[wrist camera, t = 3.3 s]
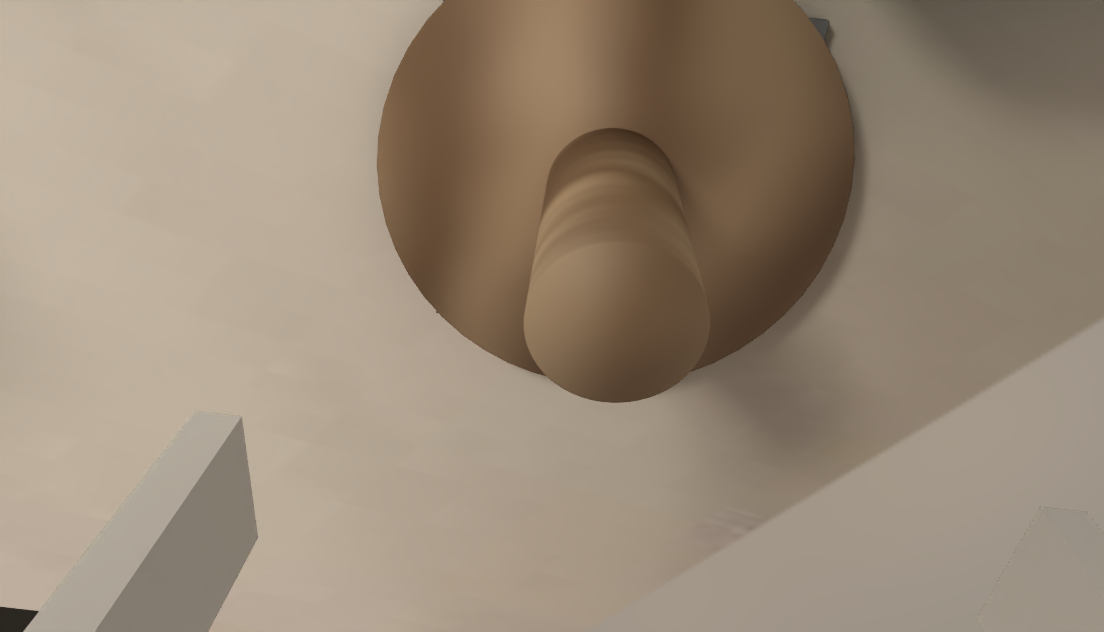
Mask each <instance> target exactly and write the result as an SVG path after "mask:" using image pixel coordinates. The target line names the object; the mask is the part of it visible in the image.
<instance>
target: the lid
mask: <svg viewBox="0 0 1104 632" xmlns="http://www.w3.org/2000/svg"><path fill="white" fill-rule="evenodd" d="M853 168H854V133H853V123H852V118H851V112H850V107H849V102H848V96H847V93H846V90H845V87H844V85H843V82H842V79H841V76H840V73H839V70H838V67H837V65H836V63H835V61H834V59H833V57H832V55H831V53H830V51H829V49H828V47H827V45H826V43H825V42H824V40H823V38H822V36H821V35H820V33H819V32H818V31H817V29H816V28H815V26H814V25H813V24H812V22H811V21H810V20H809V18H808V17H807V15H806V14H805V13H804V11H803V10H802V9H801V8H800V7H799V6H798V5H797V4H796V3H795V2H794V1H793V0H445V1H444V2H443V3H442V5H441V6H440V7H439V8H438V9H437V10H436V11H435V12H434V13H433V14H432V15H431V16H430V18H429V19H428V20H427V21H426V22H425V24H424V25H423V27H422V28H421V30H420V31H419V33H418V34H417V36H416V37H415V38H414V40H413V41H412V43H411V44H410V46H409V47H408V49H407V51H406V53H405V55H404V57H403V59H402V61H401V63H400V65H399V67H398V69H397V71H396V73H395V75H394V78H393V81H392V84H391V87H390V90H389V93H388V96H387V99H386V102H385V105H384V109H383V114H382V120H381V125H380V130H379V136H378V156H377V171H378V182H379V194H380V199H381V203H382V208H383V212H384V217H385V221H386V225H387V227H388V230H389V233H390V235H391V238H392V241H393V244H394V246H395V249H396V251H397V253H398V255H399V257H400V259H401V261H402V263H403V265H404V266H405V268H406V270H407V272H408V274H409V275H410V277H411V278H412V280H413V281H414V283H415V284H416V286H417V287H418V289H419V290H420V291H421V293H422V294H423V296H424V297H425V298H426V299H427V300H428V301H429V303H430V304H431V305H432V306H433V307H434V308H435V309H436V310H437V312H438V313H439V314H440V315H441V316H442V317H443V318H444V319H445V320H446V321H447V322H449V323H450V324H451V325H452V326H453V327H454V328H455V329H457V330H458V331H459V332H460V333H461V334H462V335H464V336H465V337H467V338H468V339H469V340H471V341H472V342H474V343H475V344H477V345H478V346H479V347H481V348H482V349H484V350H486V351H488V352H489V353H491V354H493V355H495V356H497V357H499V358H500V359H502V360H504V361H506V362H508V363H511V364H513V365H516V366H518V367H521V368H523V369H526V370H528V371H531V372H534V373H537V374H541V375H544V376H547V377H548V378H550V379H551V380H552V381H553V382H554V383H556V384H557V385H559V386H560V387H561V388H563V389H565V390H567V391H569V392H571V393H573V394H575V395H578V396H580V397H583V398H587V399H590V400H595V401H601V402H612V403H619V402H631V401H637V400H641V399H645V398H649V397H652V396H654V395H657V394H659V393H661V392H663V391H665V390H667V389H669V388H671V387H672V386H674V385H675V384H676V383H678V382H679V381H680V380H682V379H683V378H684V377H685V376H686V375H687V374H688V373H689V372H691V371H694V370H696V369H699V368H701V367H704V366H706V365H709V364H712V363H714V362H716V361H718V360H720V359H722V358H724V357H726V356H728V355H729V354H731V353H733V352H735V351H737V350H739V349H740V348H742V347H743V346H745V345H746V344H748V343H749V342H751V341H752V340H754V339H755V338H757V337H758V336H760V335H761V334H763V333H764V332H765V331H766V330H767V329H768V328H770V327H771V326H772V325H773V324H774V323H775V322H777V321H778V320H779V319H780V318H781V317H782V316H783V315H784V314H785V313H786V312H787V311H788V310H789V309H790V308H791V307H792V306H793V305H794V304H795V302H796V301H797V300H798V299H799V298H800V297H801V296H802V295H803V294H804V292H805V291H806V289H807V288H808V287H809V285H810V284H811V282H812V281H813V280H814V278H815V277H816V275H817V274H818V273H819V271H820V269H821V268H822V266H823V264H824V262H825V260H826V258H827V257H828V255H829V253H830V251H831V249H832V247H833V246H834V243H835V241H836V238H837V235H838V233H839V230H840V228H841V225H842V223H843V220H844V217H845V213H846V209H847V205H848V201H849V196H850V192H851V188H852V178H853Z"/></svg>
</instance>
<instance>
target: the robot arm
mask: <svg viewBox="0 0 1104 632" xmlns="http://www.w3.org/2000/svg"><path fill="white" fill-rule="evenodd" d="M257 538H258V534H257V526H256V519H255V511H254V504H253V497H252V489H251V482H250V474H249V467H248V460H247V452H246V445H245V437H244V430H243V422H242V416H234V415H225V414H216V413H207V412H198V411H195V412H194V413H193V415H192V416H191V417H190V418H189V420H188V421H187V422H186V424H185V425H184V426H183V427H182V429H181V430H180V431H179V433H178V434H177V435H176V436H175V438H174V439H173V440H172V442H171V443H170V444H169V445H168V447H167V448H166V449H165V450H164V452H163V453H162V454H161V456H160V457H159V458H158V459H157V461H156V462H155V463H154V465H153V466H152V467H151V468H150V470H149V471H148V472H147V474H146V475H145V476H144V477H143V479H142V480H141V481H140V483H139V484H138V485H137V486H136V488H135V489H134V490H133V492H132V493H131V494H130V495H129V497H128V498H127V499H126V501H125V502H124V503H123V504H122V506H121V507H120V508H119V509H118V511H117V512H116V513H115V515H114V516H113V517H112V518H111V520H110V521H109V522H108V524H107V525H106V526H105V527H104V529H103V530H102V531H101V533H100V534H99V535H98V536H97V538H96V539H95V540H94V542H93V543H92V544H91V545H90V547H89V548H88V549H87V551H86V552H85V553H84V554H83V556H82V557H81V558H80V560H79V561H78V562H77V563H76V565H75V566H74V567H73V568H72V570H71V571H70V572H69V574H68V575H67V576H66V577H65V579H64V580H63V581H62V583H61V584H60V585H59V586H58V588H57V589H56V590H55V592H54V593H53V594H52V595H51V597H50V598H49V599H48V601H47V602H46V603H45V604H44V606H43V607H42V608H41V610H40V611H33V610H24V609H15V608H6V607H0V632H208V631H209V629H210V627H211V625H212V623H213V621H214V619H215V618H216V616H217V614H218V612H219V610H220V608H221V606H222V604H223V603H224V601H225V599H226V597H227V595H228V593H229V591H230V589H231V587H232V586H233V584H234V582H235V580H236V578H237V576H238V574H239V572H240V570H241V569H242V567H243V565H244V563H245V561H246V559H247V557H248V555H249V554H250V552H251V550H252V548H253V546H254V544H255V542H256V540H257ZM977 620H978V622H979V624H980V626H981V628H982V630H983V632H1104V533H1103V532H1102V531H1101V529H1100V528H1099V527H1098V526H1097V524H1096V523H1095V522H1094V520H1093V519H1092V518H1091V517H1090V515H1089V514H1088V513H1087V512H1083V511H1074V510H1065V509H1056V508H1048V507H1040V508H1039V510H1038V512H1037V513H1036V515H1035V517H1034V519H1033V520H1032V522H1031V524H1030V526H1029V528H1028V529H1027V531H1026V533H1025V534H1024V536H1023V538H1022V540H1021V542H1020V543H1019V545H1018V547H1017V549H1016V550H1015V552H1014V554H1013V556H1012V558H1011V559H1010V561H1009V563H1008V565H1007V566H1006V568H1005V570H1004V572H1003V573H1002V575H1001V577H1000V579H999V580H998V582H997V584H996V586H995V588H994V589H993V591H992V593H991V595H990V596H989V598H988V600H987V602H986V603H985V605H984V607H983V609H982V610H981V612H980V614H979V616H978V618H977Z"/></svg>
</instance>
